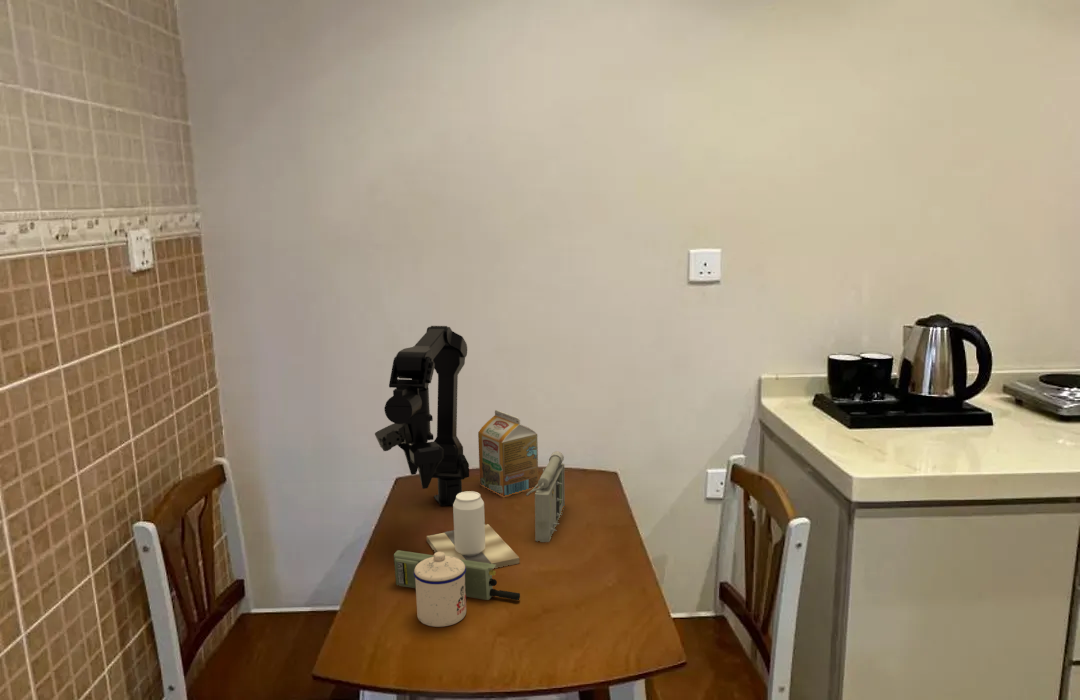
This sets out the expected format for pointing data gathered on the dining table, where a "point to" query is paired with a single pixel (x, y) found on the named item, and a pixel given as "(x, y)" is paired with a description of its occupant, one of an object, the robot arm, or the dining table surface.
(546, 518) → the geiger counter
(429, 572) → the teacup with lid
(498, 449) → the milk carton
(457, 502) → the beverage can
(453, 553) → the subfloor board
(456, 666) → the dining table surface
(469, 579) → the handheld radio
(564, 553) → the dining table surface
